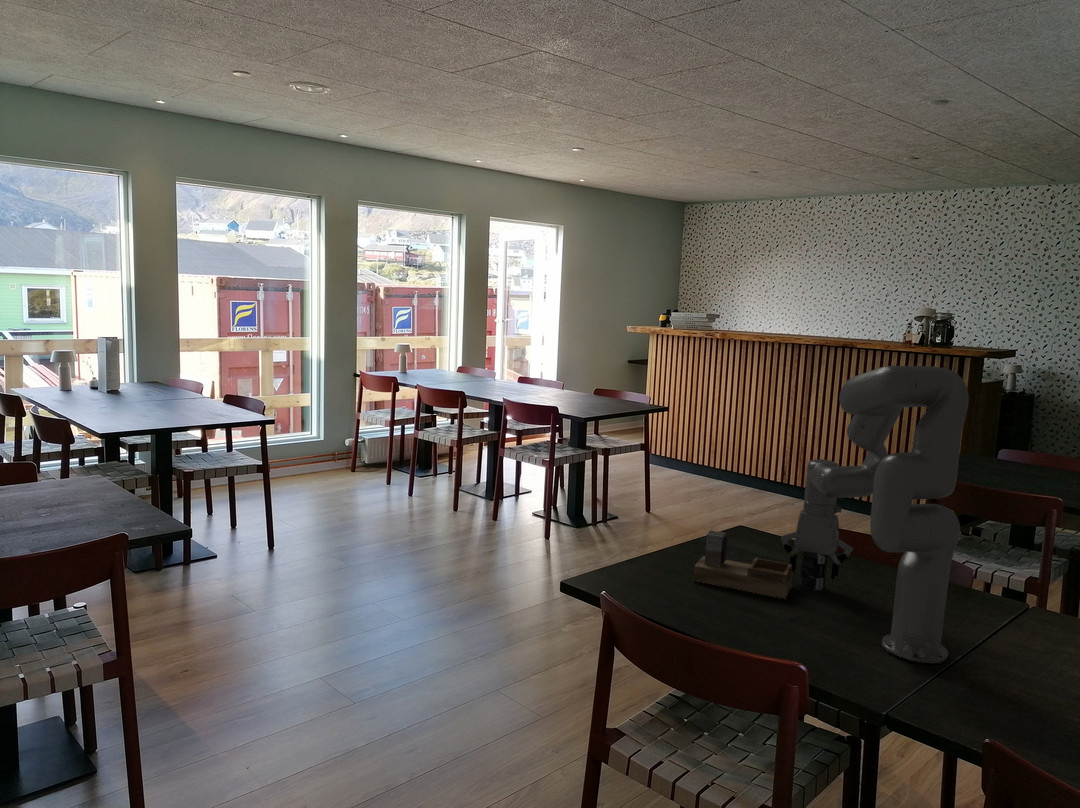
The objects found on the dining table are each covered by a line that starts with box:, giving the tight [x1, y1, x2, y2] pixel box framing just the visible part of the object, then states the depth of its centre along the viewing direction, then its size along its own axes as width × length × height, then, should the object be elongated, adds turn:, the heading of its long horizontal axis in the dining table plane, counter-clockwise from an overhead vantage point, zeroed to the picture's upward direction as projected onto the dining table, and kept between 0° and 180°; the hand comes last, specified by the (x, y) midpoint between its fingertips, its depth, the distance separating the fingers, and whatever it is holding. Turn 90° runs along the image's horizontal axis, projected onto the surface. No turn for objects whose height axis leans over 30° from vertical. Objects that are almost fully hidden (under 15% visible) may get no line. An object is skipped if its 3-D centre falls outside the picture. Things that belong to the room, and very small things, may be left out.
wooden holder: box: [692, 529, 794, 600], centre depth 199 cm, size 10×23×12 cm, turn 64°
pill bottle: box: [799, 551, 828, 591], centre depth 199 cm, size 6×6×11 cm
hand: (813, 574), depth 199 cm, fingers open, 9 cm apart
